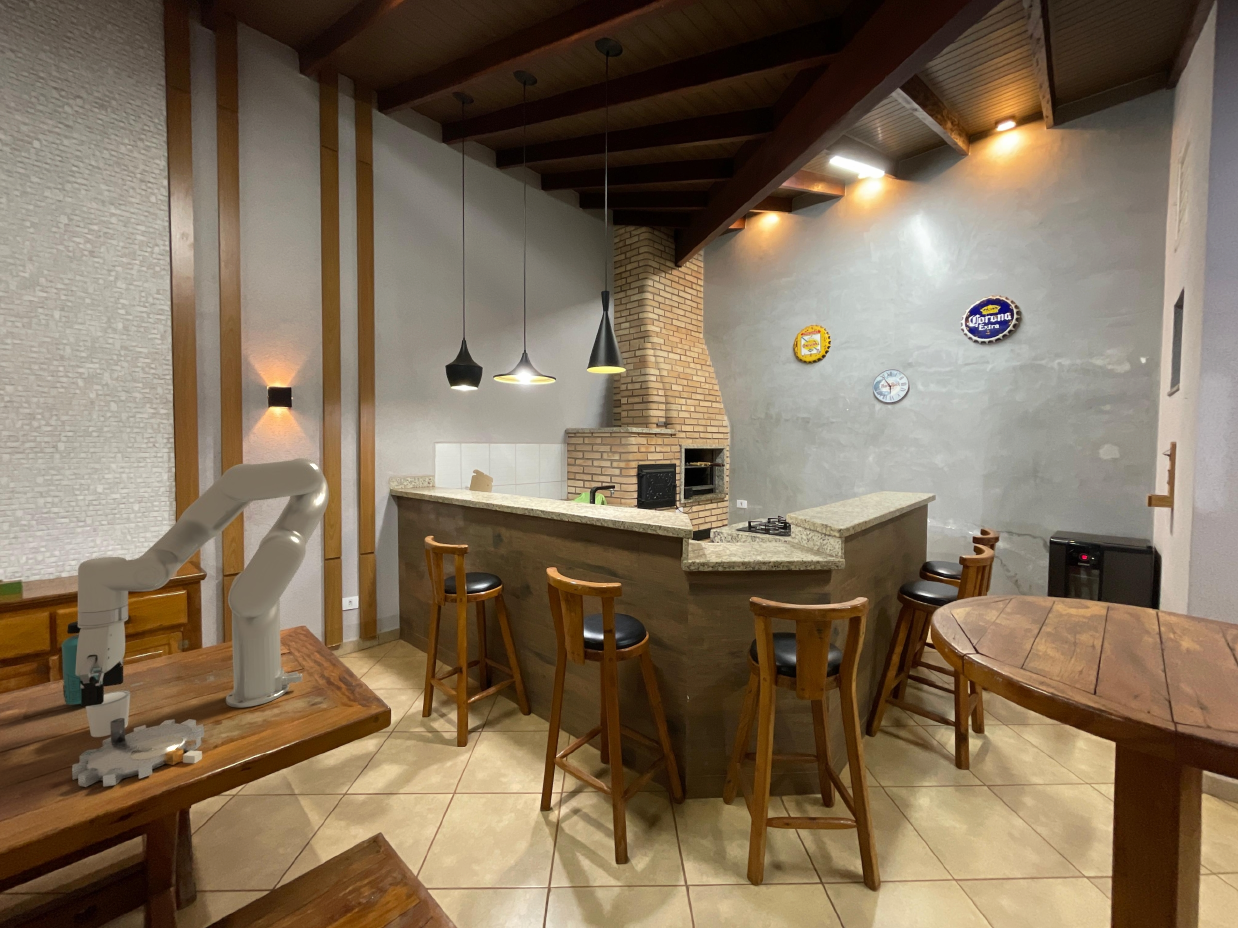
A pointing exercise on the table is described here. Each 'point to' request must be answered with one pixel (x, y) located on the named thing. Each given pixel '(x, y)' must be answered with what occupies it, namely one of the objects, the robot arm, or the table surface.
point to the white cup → (108, 712)
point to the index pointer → (192, 756)
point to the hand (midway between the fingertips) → (103, 694)
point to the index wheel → (136, 751)
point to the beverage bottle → (71, 667)
